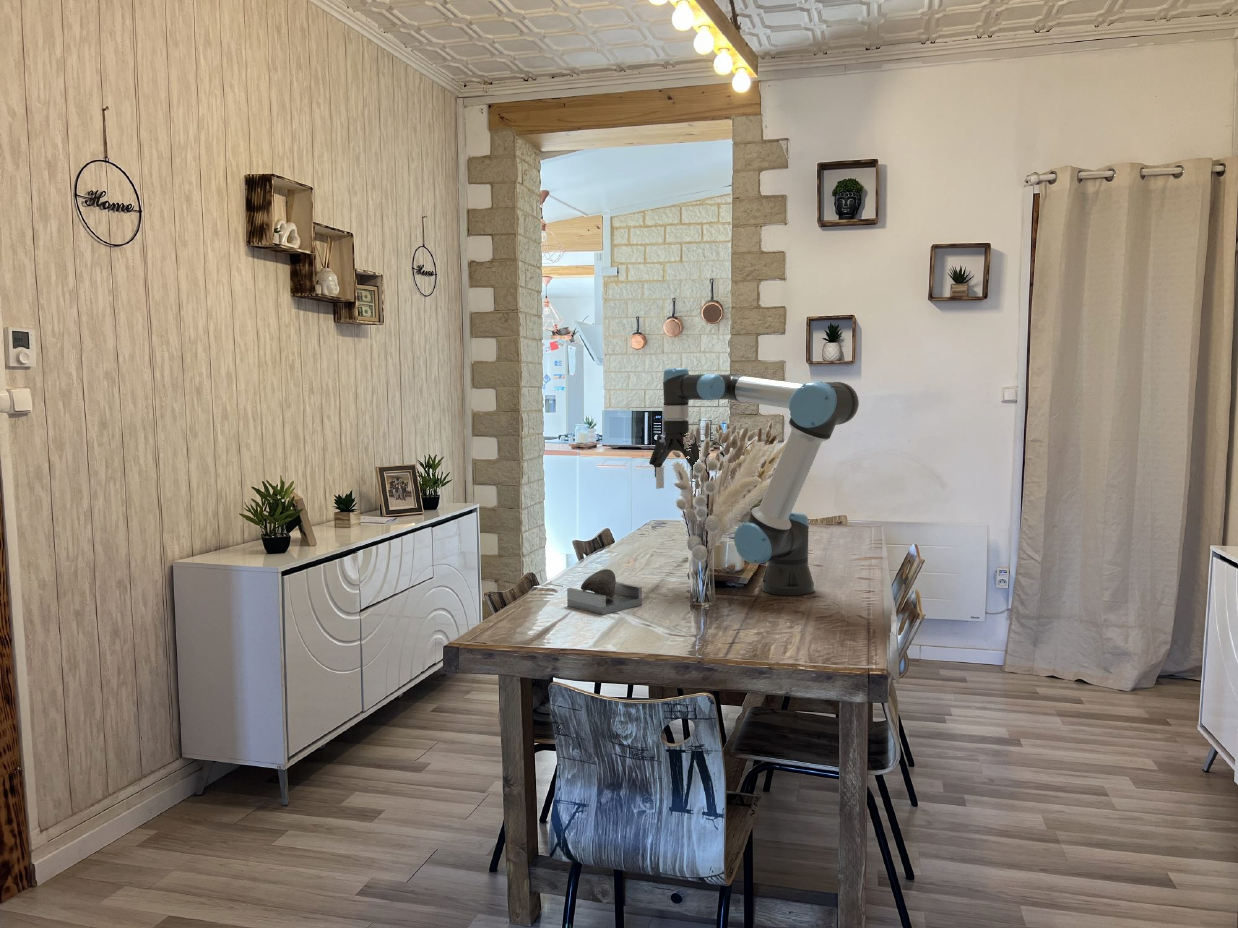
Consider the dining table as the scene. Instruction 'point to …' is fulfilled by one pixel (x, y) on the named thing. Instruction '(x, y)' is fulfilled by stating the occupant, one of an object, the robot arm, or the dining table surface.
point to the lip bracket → (605, 599)
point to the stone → (601, 583)
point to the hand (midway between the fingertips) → (676, 490)
